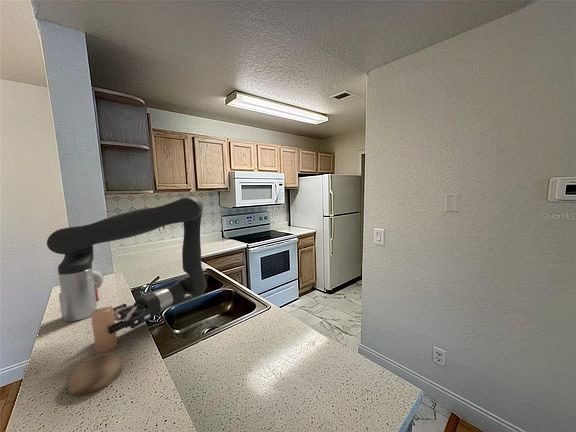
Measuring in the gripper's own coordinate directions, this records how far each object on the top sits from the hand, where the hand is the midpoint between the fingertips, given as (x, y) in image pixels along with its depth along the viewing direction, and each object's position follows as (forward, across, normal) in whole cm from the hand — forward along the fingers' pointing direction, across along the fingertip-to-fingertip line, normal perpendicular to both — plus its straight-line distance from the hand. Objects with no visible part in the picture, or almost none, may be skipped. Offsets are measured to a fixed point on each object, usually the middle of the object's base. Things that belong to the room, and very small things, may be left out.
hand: (100, 327), depth 67 cm
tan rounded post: (-1, 0, +6) cm, 7 cm away
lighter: (-17, -44, +7) cm, 47 cm away
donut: (-22, -56, +7) cm, 60 cm away
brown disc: (+7, +11, +6) cm, 15 cm away
